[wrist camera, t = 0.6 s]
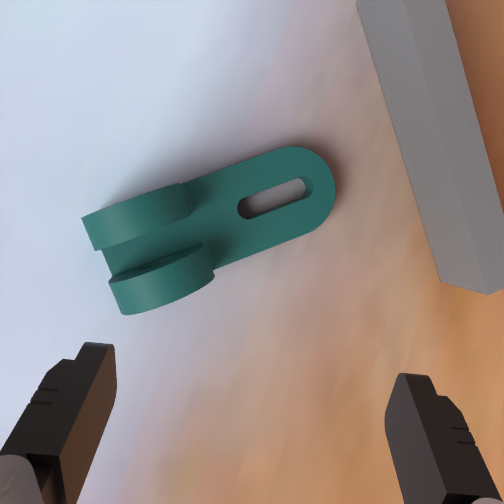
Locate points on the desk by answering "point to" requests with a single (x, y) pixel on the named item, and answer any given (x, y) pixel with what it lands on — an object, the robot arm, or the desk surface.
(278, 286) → the desk surface
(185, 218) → the bracket
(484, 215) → the board
